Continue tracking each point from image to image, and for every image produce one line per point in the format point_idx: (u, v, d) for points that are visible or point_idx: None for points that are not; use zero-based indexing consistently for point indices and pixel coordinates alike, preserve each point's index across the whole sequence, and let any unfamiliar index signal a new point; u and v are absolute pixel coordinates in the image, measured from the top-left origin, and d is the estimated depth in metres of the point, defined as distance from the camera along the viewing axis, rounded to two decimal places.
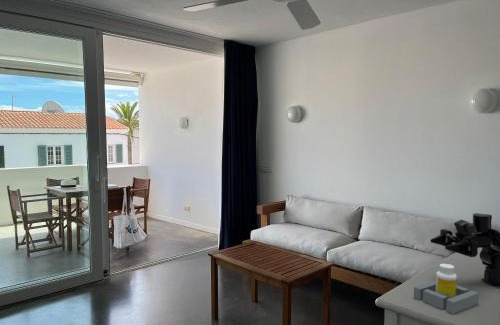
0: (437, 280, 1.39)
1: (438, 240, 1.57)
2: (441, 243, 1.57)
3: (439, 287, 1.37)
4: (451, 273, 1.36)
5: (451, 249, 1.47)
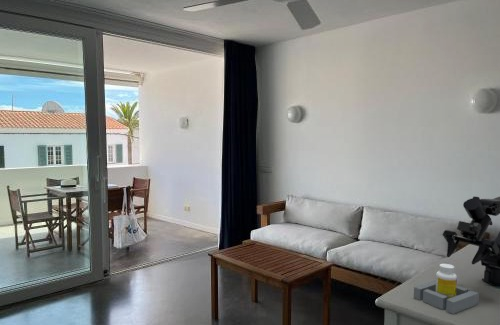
0: (437, 280, 1.39)
1: (451, 249, 1.47)
2: (454, 248, 1.49)
3: (439, 287, 1.37)
4: (451, 273, 1.36)
5: (477, 261, 1.39)
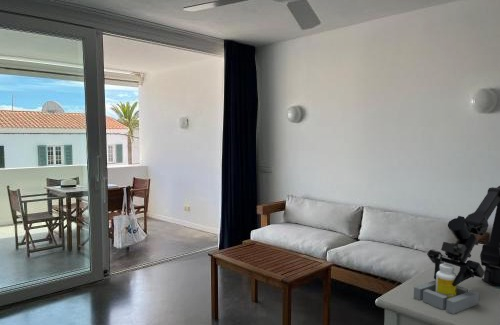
0: (437, 280, 1.39)
1: None
2: None
3: (439, 287, 1.37)
4: (451, 273, 1.36)
5: (458, 282, 1.35)
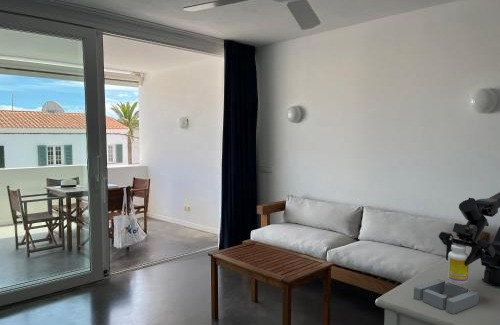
0: (449, 260, 1.42)
1: None
2: None
3: (452, 267, 1.41)
4: (463, 253, 1.40)
5: (470, 262, 1.38)
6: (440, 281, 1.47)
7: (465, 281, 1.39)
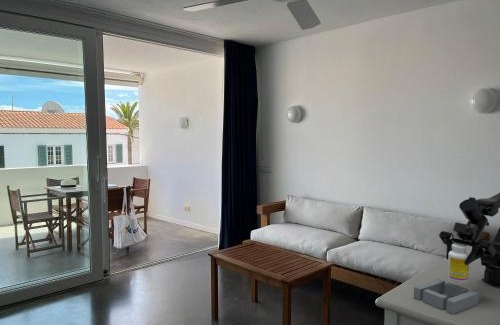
0: (449, 260, 1.42)
1: None
2: None
3: (452, 266, 1.41)
4: (463, 252, 1.40)
5: (470, 261, 1.39)
6: (440, 281, 1.47)
7: (465, 280, 1.39)
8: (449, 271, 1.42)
